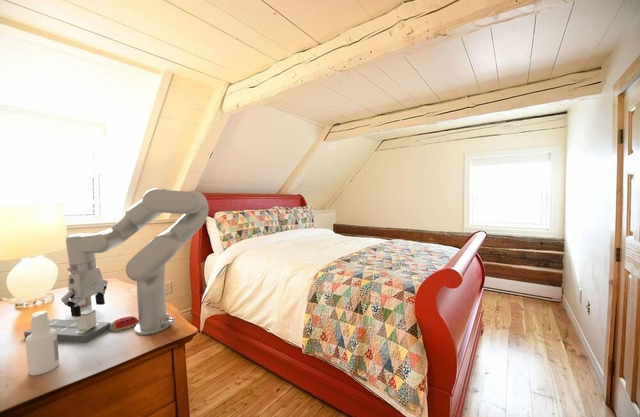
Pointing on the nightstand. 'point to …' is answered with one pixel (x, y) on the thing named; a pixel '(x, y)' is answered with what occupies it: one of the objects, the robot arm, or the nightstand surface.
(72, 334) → the mixing desk
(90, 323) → the fader knob
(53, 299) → the nightstand surface
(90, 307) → the bath foam
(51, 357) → the white bottle
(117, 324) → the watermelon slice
